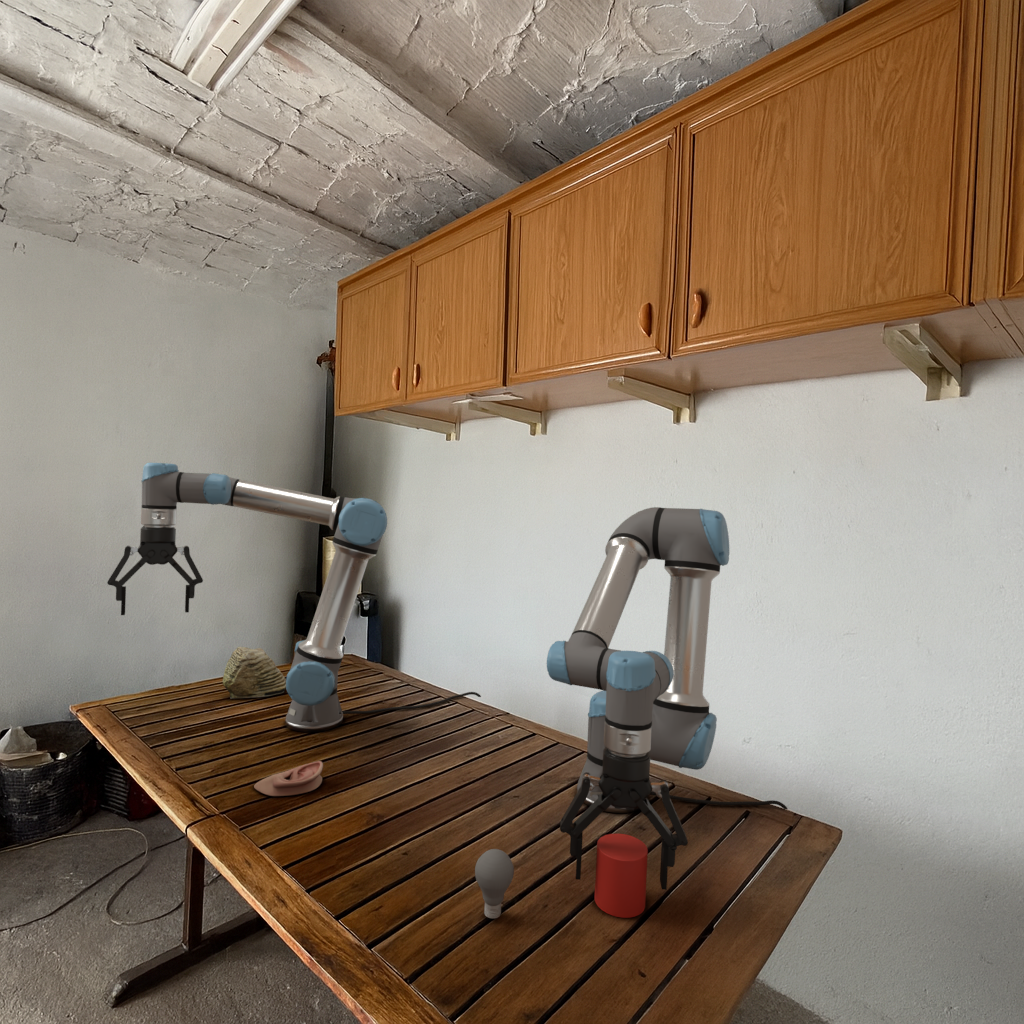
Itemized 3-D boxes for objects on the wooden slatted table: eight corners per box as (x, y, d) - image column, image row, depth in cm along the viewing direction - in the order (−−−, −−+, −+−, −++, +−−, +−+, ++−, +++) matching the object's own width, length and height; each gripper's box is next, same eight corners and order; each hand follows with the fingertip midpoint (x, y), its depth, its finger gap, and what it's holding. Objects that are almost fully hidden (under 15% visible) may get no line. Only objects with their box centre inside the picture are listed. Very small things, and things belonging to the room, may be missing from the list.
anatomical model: (246, 773, 134) (276, 753, 145) (245, 792, 134) (276, 770, 145) (303, 782, 131) (330, 760, 142) (302, 801, 131) (329, 777, 142)
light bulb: (472, 903, 100) (475, 841, 100) (510, 903, 101) (513, 841, 101) (473, 929, 94) (476, 863, 94) (513, 928, 95) (516, 862, 95)
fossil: (218, 695, 195) (220, 647, 195) (278, 685, 208) (279, 640, 207) (228, 703, 189) (230, 653, 188) (289, 692, 201) (290, 645, 201)
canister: (619, 924, 97) (622, 866, 97) (584, 896, 104) (586, 841, 104) (655, 907, 102) (658, 851, 102) (619, 880, 109) (622, 828, 108)
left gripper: (96, 526, 145) (93, 618, 145) (216, 528, 157) (213, 613, 158) (98, 524, 152) (96, 612, 152) (213, 526, 164) (210, 607, 164)
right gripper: (548, 750, 100) (541, 884, 100) (710, 766, 97) (703, 903, 97) (551, 734, 108) (545, 858, 108) (701, 747, 105) (695, 875, 105)
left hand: (155, 613), depth 155 cm, fingers open, 13 cm apart
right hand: (620, 880), depth 103 cm, fingers open, 13 cm apart
